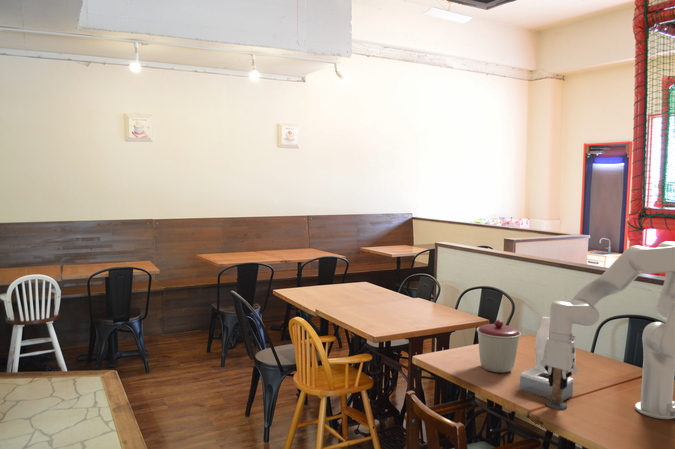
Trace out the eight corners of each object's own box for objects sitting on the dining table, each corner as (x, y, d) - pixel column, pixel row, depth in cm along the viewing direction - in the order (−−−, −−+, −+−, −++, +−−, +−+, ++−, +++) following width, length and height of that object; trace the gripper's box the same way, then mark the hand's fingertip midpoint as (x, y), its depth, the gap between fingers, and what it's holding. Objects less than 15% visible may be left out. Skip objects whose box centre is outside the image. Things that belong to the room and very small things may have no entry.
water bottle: (553, 381, 217) (557, 320, 215) (535, 379, 219) (538, 319, 217) (550, 375, 224) (553, 316, 222) (532, 373, 226) (535, 314, 224)
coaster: (570, 405, 193) (570, 404, 193) (562, 411, 188) (562, 409, 188) (551, 400, 198) (551, 398, 198) (542, 405, 193) (542, 403, 193)
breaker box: (572, 395, 203) (573, 378, 203) (561, 402, 196) (562, 385, 196) (531, 383, 214) (532, 367, 214) (519, 389, 207) (520, 373, 207)
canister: (475, 360, 242) (477, 313, 240) (517, 364, 237) (520, 317, 235) (474, 373, 224) (476, 323, 223) (520, 378, 220) (522, 327, 218)
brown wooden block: (563, 401, 193) (565, 362, 192) (559, 403, 191) (561, 364, 190) (554, 398, 195) (556, 360, 194) (550, 400, 193) (552, 362, 192)
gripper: (588, 339, 188) (585, 391, 189) (542, 329, 200) (539, 378, 201) (579, 343, 183) (576, 396, 184) (533, 333, 194) (530, 383, 196)
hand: (557, 386), depth 193 cm, fingers closed on brown wooden block, 3 cm apart
